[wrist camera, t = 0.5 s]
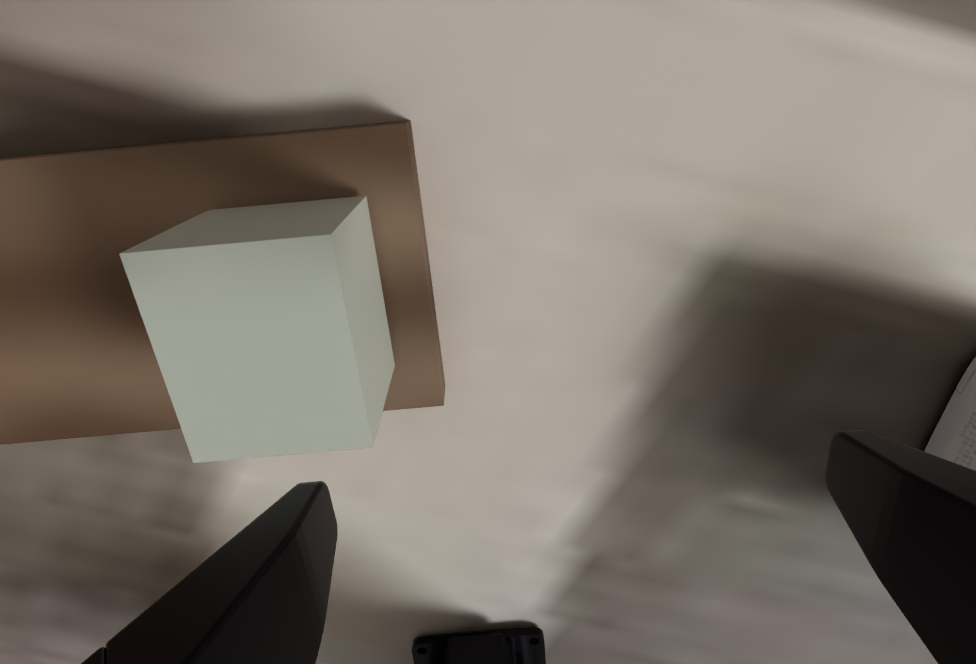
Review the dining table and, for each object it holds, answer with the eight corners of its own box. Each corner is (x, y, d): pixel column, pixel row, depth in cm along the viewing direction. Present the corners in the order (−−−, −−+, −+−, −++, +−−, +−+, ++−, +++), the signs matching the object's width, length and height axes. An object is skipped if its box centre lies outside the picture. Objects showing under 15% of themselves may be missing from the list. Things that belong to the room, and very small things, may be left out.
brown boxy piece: (445, 386, 23) (436, 493, 17) (-99, 433, 23) (-298, 557, 17) (410, 120, 19) (382, 138, 13) (-249, 180, 19) (-578, 226, 13)
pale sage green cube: (394, 365, 20) (372, 447, 16) (255, 377, 20) (193, 462, 16) (366, 195, 18) (330, 234, 13) (208, 210, 18) (119, 253, 13)
